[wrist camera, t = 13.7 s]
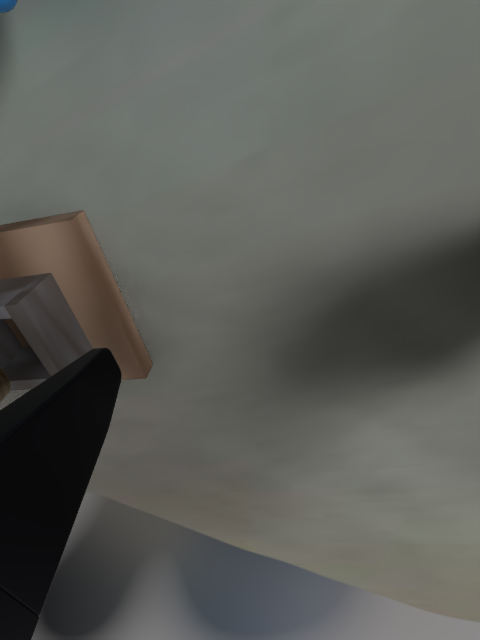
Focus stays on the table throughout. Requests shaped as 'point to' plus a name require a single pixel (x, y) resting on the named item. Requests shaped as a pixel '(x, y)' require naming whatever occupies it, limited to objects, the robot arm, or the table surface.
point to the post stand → (60, 302)
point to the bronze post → (4, 384)
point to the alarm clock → (7, 5)
